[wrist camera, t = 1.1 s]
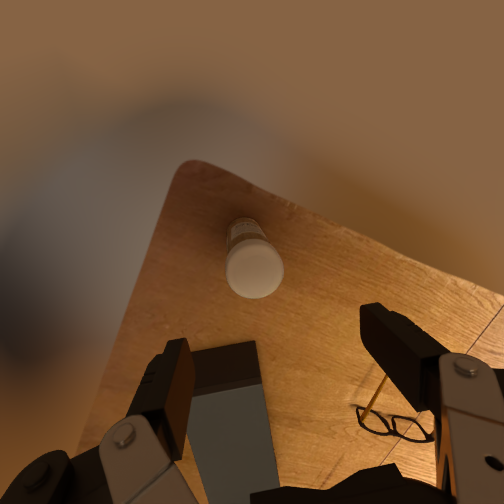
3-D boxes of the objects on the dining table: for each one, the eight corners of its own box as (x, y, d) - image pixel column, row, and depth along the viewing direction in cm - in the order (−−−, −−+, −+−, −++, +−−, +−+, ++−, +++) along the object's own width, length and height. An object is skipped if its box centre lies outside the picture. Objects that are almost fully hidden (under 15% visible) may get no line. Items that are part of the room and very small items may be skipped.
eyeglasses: (346, 408, 42) (358, 432, 38) (387, 338, 38) (404, 356, 35) (414, 424, 45) (432, 447, 41) (459, 360, 41) (482, 378, 37)
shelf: (187, 352, 36) (170, 425, 25) (254, 340, 36) (265, 406, 26) (220, 473, 44) (218, 566, 33) (276, 461, 44) (290, 550, 34)
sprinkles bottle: (222, 246, 32) (218, 293, 19) (232, 211, 31) (234, 237, 18) (256, 255, 32) (274, 306, 20) (267, 221, 31) (293, 253, 18)
